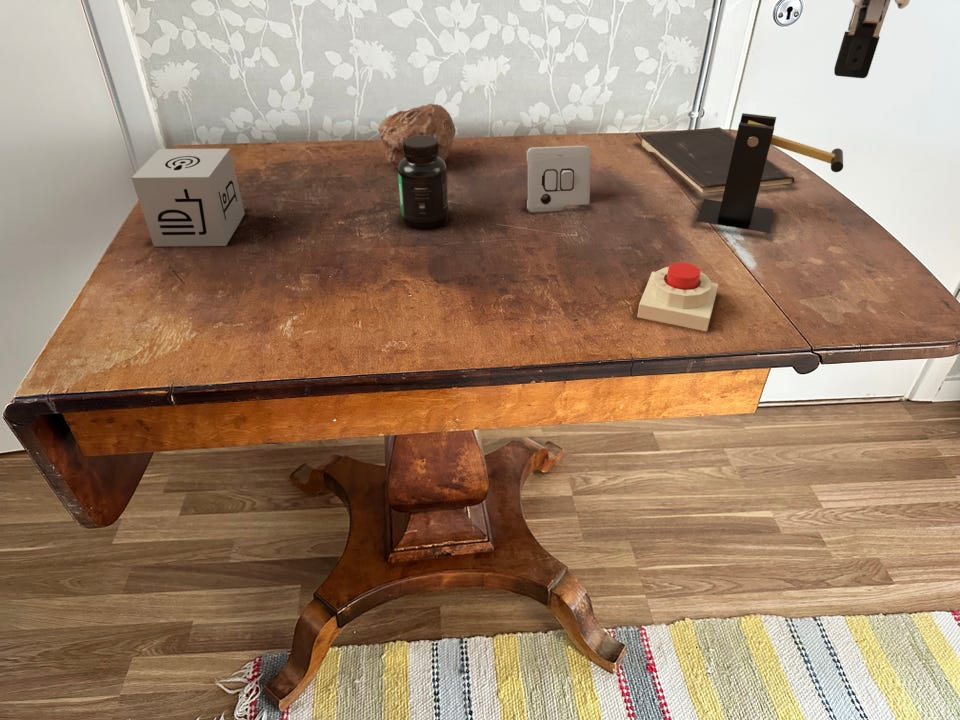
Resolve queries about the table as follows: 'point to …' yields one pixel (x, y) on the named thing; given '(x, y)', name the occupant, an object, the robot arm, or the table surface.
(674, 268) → the button
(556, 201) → the electrical switch
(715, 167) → the hardcover book
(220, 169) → the icon cube
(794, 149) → the lever
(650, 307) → the switch box
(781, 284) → the table surface
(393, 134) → the decorative rock
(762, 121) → the bracket
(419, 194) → the supplement bottle
